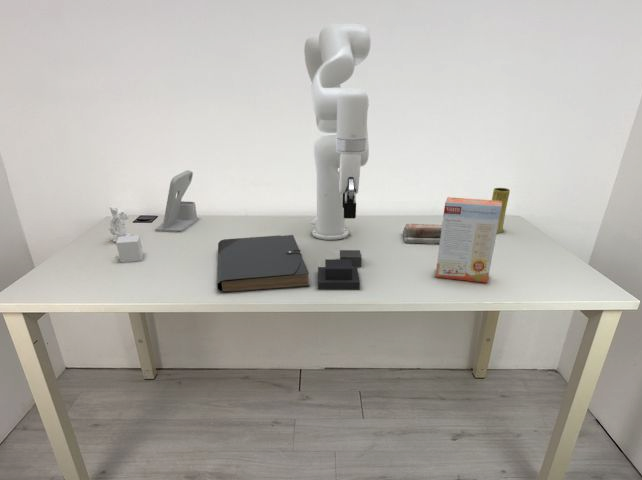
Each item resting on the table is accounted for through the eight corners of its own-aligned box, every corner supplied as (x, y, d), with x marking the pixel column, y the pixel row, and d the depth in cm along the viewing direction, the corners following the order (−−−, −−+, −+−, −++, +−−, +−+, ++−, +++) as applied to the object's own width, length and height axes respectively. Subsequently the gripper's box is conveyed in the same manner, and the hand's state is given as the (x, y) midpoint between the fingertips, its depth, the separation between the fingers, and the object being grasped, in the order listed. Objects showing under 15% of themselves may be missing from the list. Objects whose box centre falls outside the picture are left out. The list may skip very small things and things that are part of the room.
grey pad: (340, 266, 137) (340, 257, 136) (339, 259, 142) (340, 250, 141) (361, 266, 137) (361, 257, 136) (359, 259, 142) (360, 250, 141)
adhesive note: (120, 262, 140) (115, 242, 137) (123, 255, 145) (118, 236, 142) (141, 260, 141) (137, 241, 138) (143, 254, 146) (139, 235, 143)
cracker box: (488, 276, 132) (503, 200, 121) (487, 284, 127) (502, 205, 116) (437, 269, 135) (447, 195, 125) (434, 277, 131) (445, 200, 120)
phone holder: (174, 217, 181) (166, 168, 172) (200, 218, 180) (193, 169, 171) (155, 230, 166) (145, 177, 157) (182, 232, 165) (174, 178, 156)
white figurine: (130, 244, 154) (122, 207, 148) (108, 245, 153) (99, 208, 147) (134, 236, 161) (127, 201, 155) (114, 237, 160) (105, 201, 154)
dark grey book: (309, 272, 123) (216, 279, 119) (310, 286, 125) (218, 294, 122) (293, 233, 151) (217, 238, 147) (294, 246, 153) (219, 251, 149)
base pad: (317, 289, 124) (317, 282, 122) (318, 273, 133) (318, 266, 132) (359, 289, 124) (360, 282, 123) (356, 273, 133) (357, 266, 132)
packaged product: (405, 229, 153) (403, 220, 161) (404, 243, 155) (402, 234, 164) (462, 230, 152) (456, 221, 160) (459, 244, 154) (454, 235, 163)
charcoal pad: (325, 279, 124) (325, 268, 123) (325, 269, 130) (325, 259, 129) (351, 279, 124) (352, 268, 123) (350, 269, 130) (350, 259, 129)
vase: (504, 229, 168) (513, 188, 161) (500, 234, 164) (508, 192, 156) (487, 227, 171) (495, 186, 164) (482, 231, 167) (490, 190, 159)
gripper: (335, 140, 127) (334, 204, 136) (337, 151, 113) (335, 222, 122) (363, 140, 127) (360, 204, 136) (368, 151, 112) (364, 222, 122)
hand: (348, 212), depth 129 cm, fingers open, 9 cm apart
